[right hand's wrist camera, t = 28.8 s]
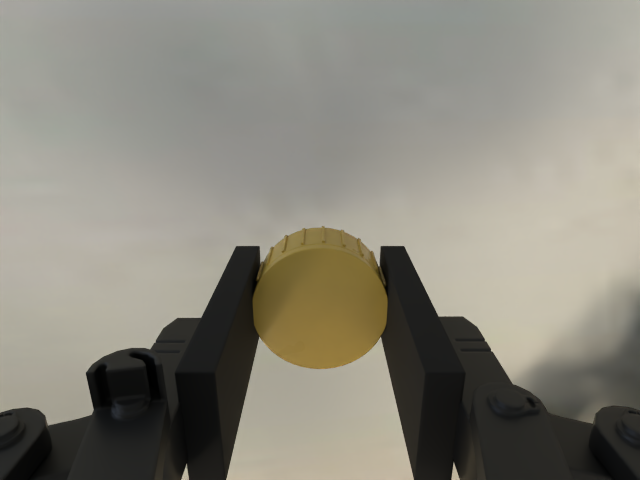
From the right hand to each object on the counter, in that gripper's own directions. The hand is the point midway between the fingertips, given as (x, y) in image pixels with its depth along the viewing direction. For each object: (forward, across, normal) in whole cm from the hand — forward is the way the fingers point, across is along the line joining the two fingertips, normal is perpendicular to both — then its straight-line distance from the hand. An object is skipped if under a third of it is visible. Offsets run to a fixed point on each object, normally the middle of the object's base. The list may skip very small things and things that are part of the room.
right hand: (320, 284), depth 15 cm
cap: (-2, 0, 0) cm, 2 cm away
